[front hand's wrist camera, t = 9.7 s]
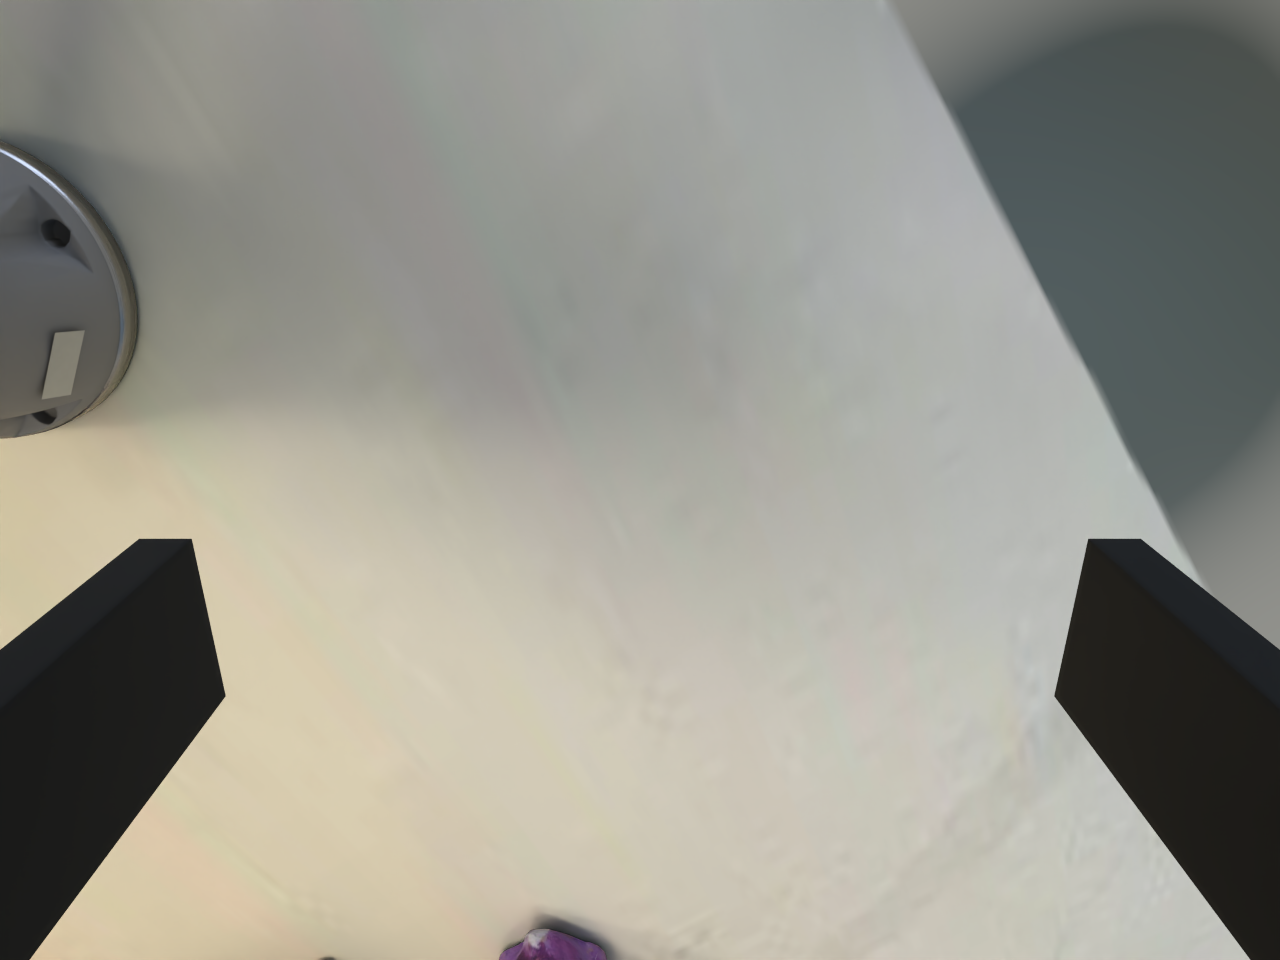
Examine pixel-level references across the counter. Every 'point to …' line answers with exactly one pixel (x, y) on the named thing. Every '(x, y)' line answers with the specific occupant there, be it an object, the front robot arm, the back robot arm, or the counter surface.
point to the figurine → (553, 948)
